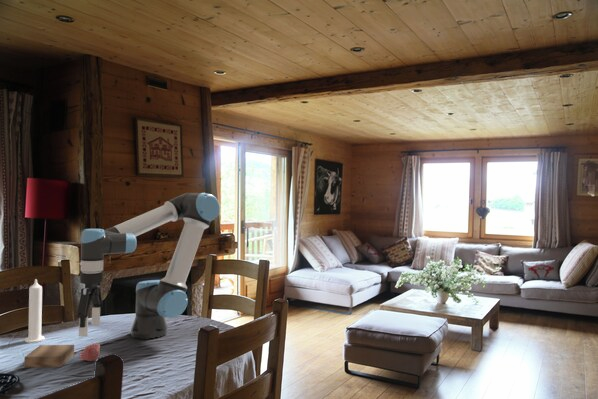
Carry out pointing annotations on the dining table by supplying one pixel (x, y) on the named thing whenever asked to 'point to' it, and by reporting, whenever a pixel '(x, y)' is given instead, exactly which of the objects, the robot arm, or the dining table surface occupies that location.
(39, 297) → the candle
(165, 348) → the dining table surface
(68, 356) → the walnut base
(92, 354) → the flower
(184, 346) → the dining table surface
